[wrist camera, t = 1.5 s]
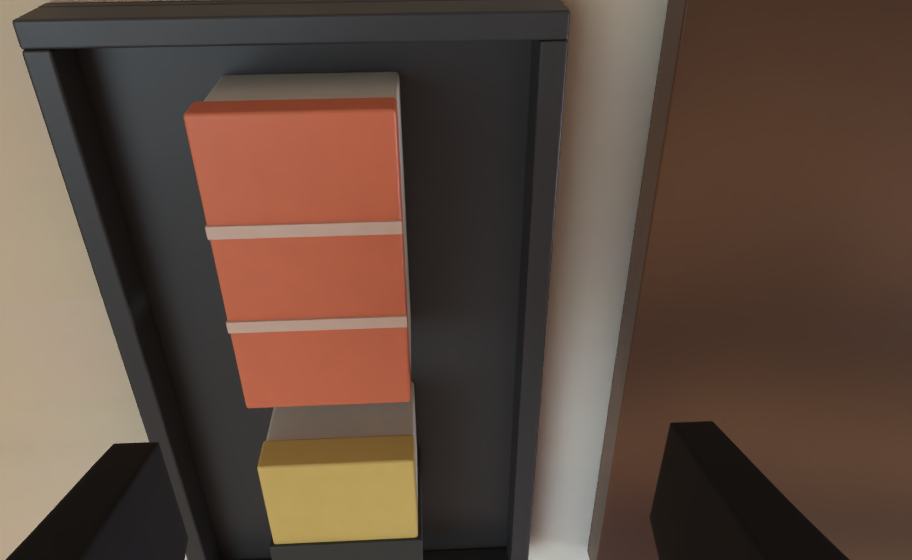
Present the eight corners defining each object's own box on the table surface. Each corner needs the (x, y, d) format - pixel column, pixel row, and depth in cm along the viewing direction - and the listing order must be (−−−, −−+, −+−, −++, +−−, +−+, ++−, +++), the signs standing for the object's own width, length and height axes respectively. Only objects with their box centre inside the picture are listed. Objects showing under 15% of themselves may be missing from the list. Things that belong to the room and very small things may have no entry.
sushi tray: (520, 546, 26) (526, 585, 25) (211, 561, 26) (200, 602, 25) (557, -6, 16) (571, 10, 15) (44, 2, 16) (10, 19, 14)
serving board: (901, 535, 27) (920, 562, 26) (587, 550, 27) (594, 578, 26) (1188, -35, 16) (1240, -25, 15) (671, -28, 16) (689, -17, 15)
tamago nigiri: (424, 537, 25) (425, 632, 22) (303, 542, 25) (289, 639, 22) (417, 374, 21) (418, 464, 18) (273, 380, 21) (251, 471, 18)
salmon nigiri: (411, 325, 20) (411, 405, 17) (267, 330, 20) (245, 411, 17) (398, 61, 16) (396, 110, 14) (219, 65, 16) (180, 115, 13)
